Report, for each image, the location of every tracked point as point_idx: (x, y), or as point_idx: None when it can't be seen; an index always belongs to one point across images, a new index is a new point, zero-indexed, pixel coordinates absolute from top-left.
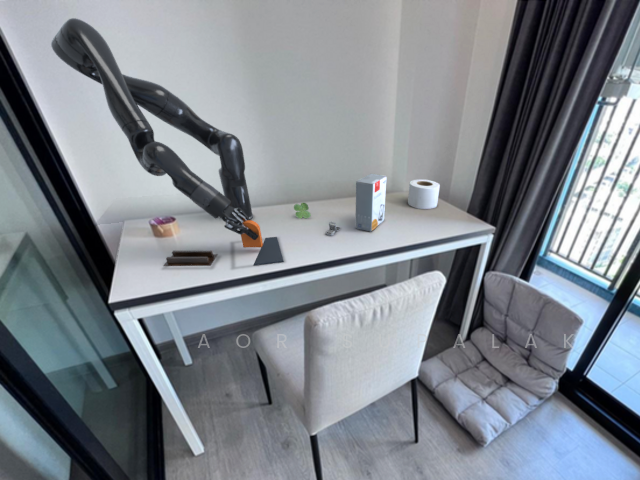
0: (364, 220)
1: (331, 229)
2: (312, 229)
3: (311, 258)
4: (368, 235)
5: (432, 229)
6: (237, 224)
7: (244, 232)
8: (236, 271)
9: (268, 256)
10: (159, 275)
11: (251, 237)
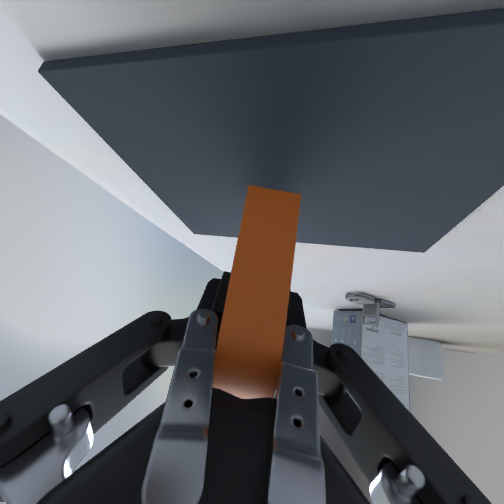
0: (343, 332)
1: (373, 304)
2: (421, 292)
3: (224, 259)
4: (321, 305)
5: (313, 320)
6: (111, 413)
7: (182, 324)
8: (27, 88)
9: (219, 214)
10: None
11: (205, 289)
